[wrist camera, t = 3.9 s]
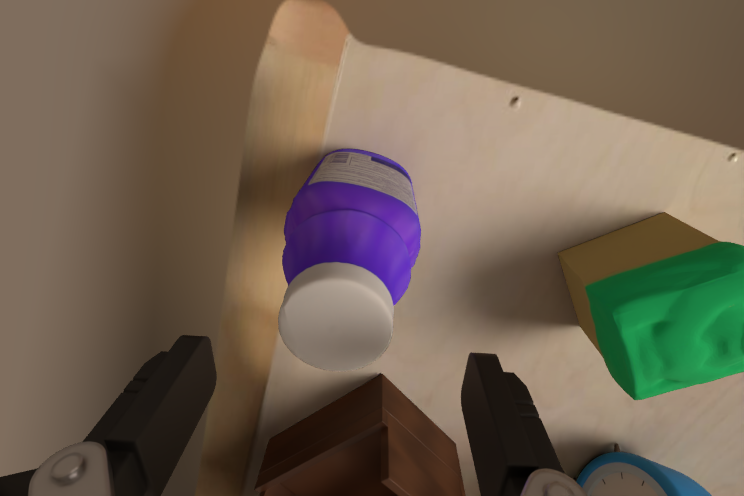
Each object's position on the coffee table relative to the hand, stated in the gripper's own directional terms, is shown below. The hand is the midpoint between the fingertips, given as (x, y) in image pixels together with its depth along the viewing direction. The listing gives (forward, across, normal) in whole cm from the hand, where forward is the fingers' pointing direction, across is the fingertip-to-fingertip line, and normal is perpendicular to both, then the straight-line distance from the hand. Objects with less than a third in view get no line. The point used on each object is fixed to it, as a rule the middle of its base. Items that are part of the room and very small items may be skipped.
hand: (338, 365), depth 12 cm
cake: (+19, -22, +6) cm, 30 cm away
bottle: (+19, 0, 0) cm, 19 cm away
